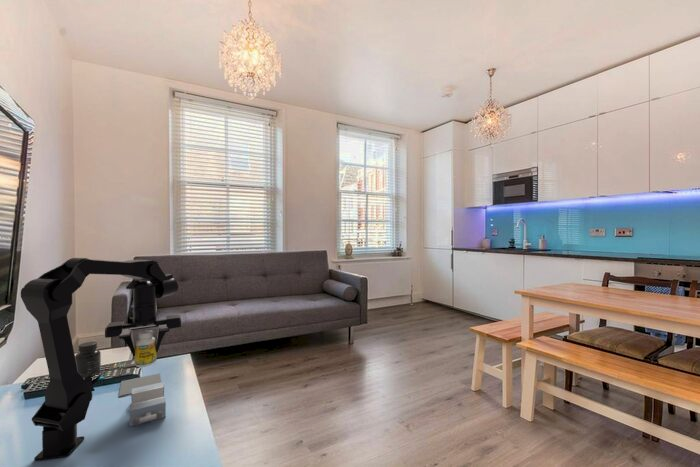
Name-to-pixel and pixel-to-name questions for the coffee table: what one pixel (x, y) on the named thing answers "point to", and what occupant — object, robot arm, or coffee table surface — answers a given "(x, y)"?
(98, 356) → the supplement bottle
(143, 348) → the supplement bottle
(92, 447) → the coffee table surface
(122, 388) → the white flat square
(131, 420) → the vise
